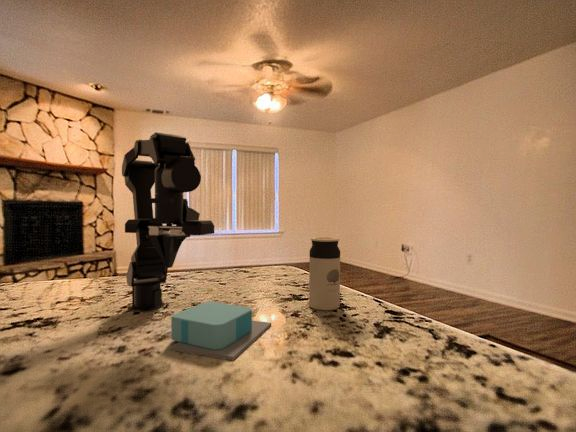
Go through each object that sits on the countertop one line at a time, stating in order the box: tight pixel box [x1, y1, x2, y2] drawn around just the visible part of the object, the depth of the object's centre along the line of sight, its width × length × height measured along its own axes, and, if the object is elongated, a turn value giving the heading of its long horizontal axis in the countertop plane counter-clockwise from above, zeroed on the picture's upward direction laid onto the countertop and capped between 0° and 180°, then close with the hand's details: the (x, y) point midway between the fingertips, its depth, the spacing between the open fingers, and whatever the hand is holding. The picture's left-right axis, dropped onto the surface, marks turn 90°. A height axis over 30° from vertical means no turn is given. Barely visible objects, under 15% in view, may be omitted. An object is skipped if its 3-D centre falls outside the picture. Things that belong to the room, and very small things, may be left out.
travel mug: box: [308, 236, 341, 312], centre depth 89 cm, size 8×8×18 cm
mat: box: [170, 320, 272, 361], centre depth 67 cm, size 12×18×1 cm
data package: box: [170, 301, 253, 350], centre depth 67 cm, size 12×4×12 cm
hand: (169, 267), depth 72 cm, fingers closed
